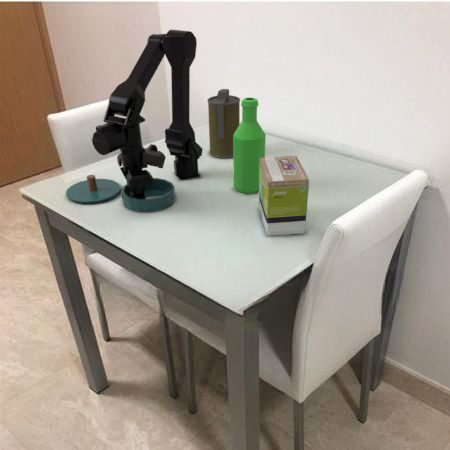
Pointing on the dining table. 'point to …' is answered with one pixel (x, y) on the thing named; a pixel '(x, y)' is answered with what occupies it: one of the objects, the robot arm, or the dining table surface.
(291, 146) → the dining table surface
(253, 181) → the bottle
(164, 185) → the pot
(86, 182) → the lid
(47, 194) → the dining table surface
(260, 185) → the tea box
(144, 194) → the knife
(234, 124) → the canister
